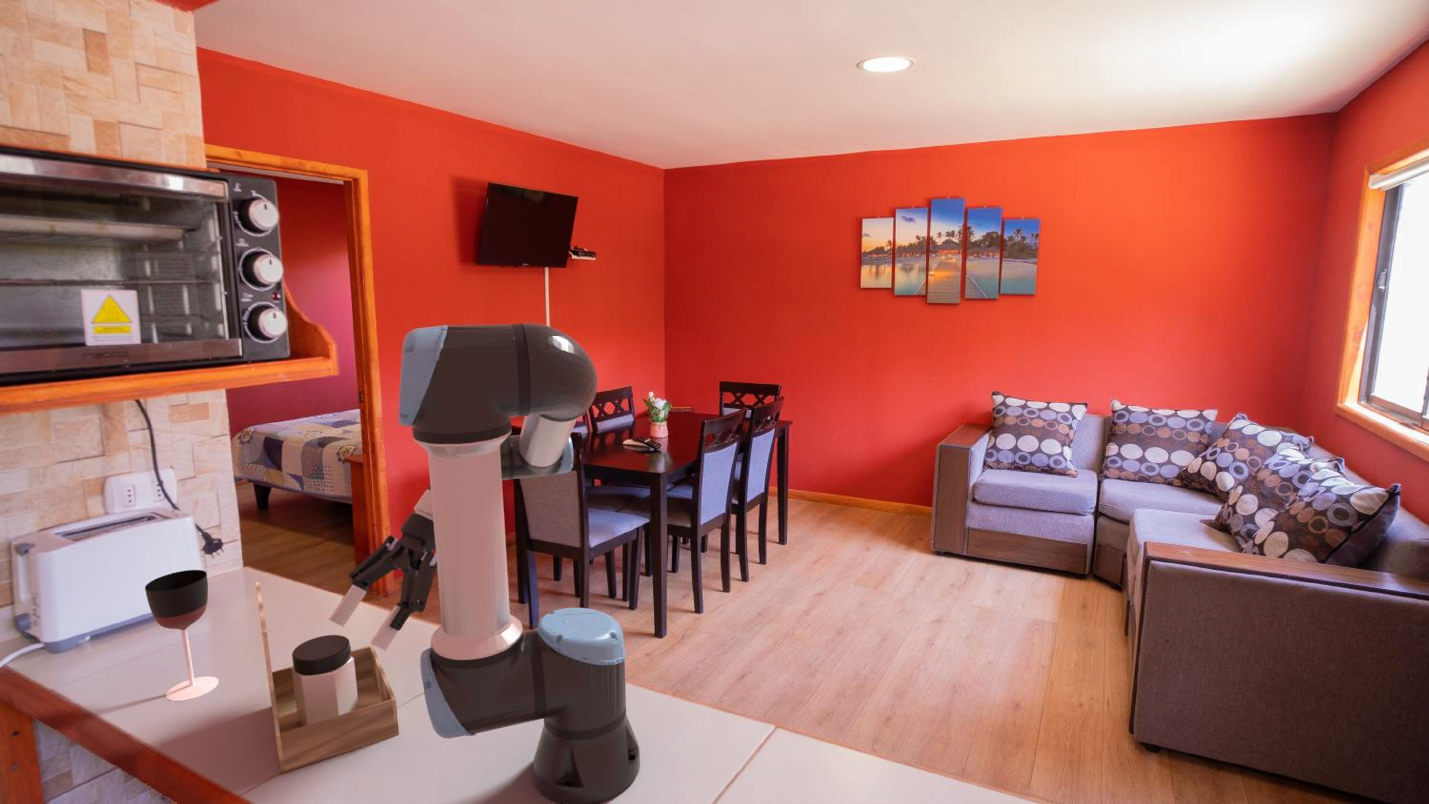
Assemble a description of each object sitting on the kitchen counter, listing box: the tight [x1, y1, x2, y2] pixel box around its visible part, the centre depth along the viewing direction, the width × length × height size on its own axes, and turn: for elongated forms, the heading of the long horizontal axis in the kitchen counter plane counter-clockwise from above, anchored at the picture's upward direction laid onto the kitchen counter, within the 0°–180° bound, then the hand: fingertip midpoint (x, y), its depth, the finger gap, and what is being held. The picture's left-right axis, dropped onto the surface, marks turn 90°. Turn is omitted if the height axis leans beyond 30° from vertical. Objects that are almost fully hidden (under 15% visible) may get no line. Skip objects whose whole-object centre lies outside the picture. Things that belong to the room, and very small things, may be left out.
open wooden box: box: [255, 581, 400, 775], centre depth 116 cm, size 20×16×22 cm
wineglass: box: [144, 569, 220, 702], centre depth 126 cm, size 8×9×20 cm
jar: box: [291, 634, 359, 726], centre depth 118 cm, size 9×8×12 cm
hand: (356, 634), depth 120 cm, fingers open, 13 cm apart
